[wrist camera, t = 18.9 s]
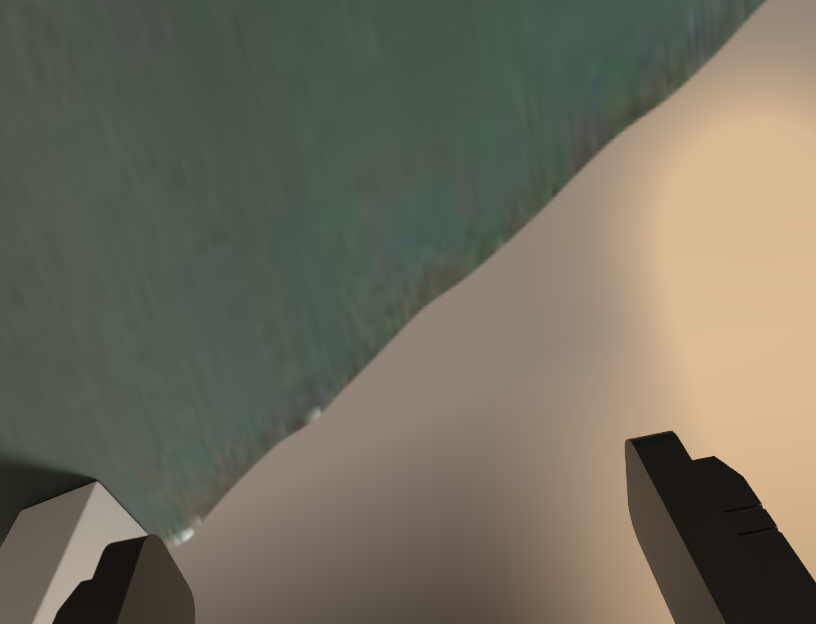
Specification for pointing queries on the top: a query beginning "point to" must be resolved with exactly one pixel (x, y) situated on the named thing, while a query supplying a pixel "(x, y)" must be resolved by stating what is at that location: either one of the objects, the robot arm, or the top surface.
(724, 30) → the top surface
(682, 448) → the robot arm
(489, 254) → the top surface
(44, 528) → the milk carton
